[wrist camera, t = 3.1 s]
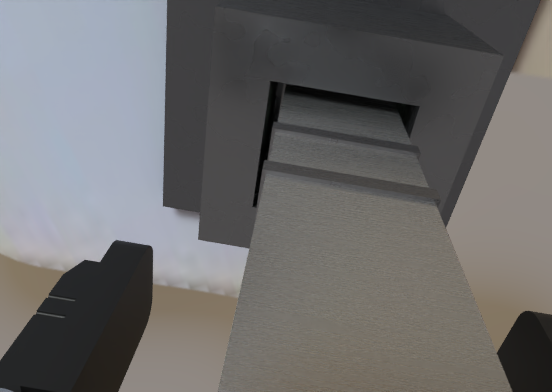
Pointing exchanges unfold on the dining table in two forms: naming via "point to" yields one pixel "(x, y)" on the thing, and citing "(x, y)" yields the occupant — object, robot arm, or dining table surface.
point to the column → (352, 264)
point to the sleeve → (325, 87)
